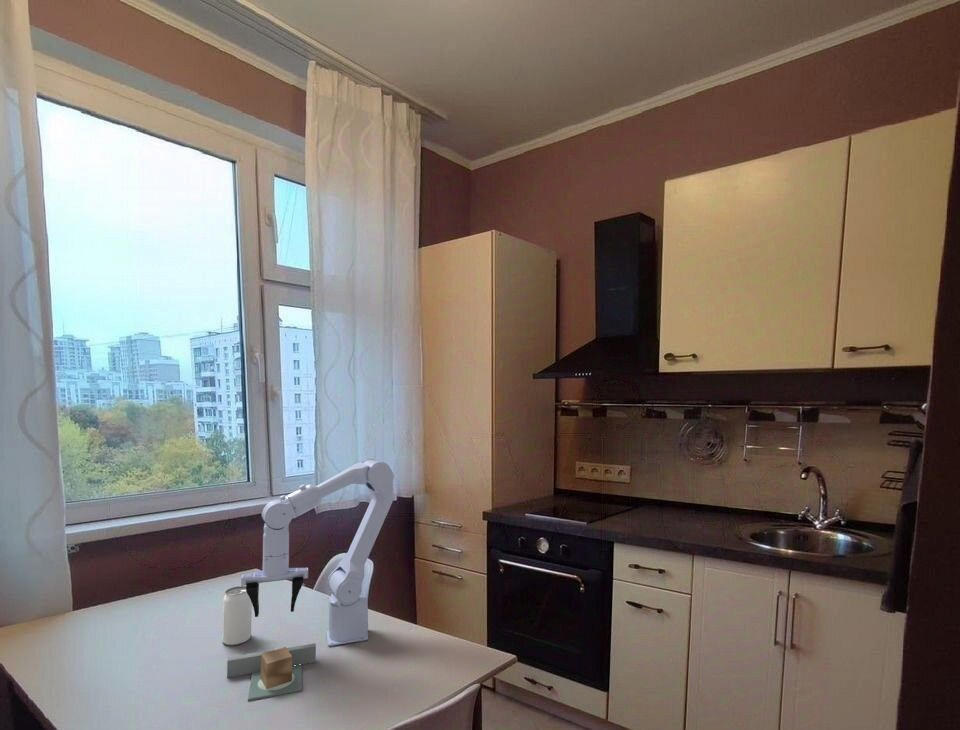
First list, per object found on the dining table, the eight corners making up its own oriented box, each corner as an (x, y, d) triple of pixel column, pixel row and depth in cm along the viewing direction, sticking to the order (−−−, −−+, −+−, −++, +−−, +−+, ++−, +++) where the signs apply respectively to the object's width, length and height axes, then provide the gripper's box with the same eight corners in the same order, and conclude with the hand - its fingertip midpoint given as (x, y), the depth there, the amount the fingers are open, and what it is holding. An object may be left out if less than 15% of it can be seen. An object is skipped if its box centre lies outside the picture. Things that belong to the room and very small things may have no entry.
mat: (301, 666, 112) (301, 664, 112) (301, 690, 103) (301, 688, 103) (252, 675, 109) (252, 672, 109) (247, 701, 99) (247, 698, 99)
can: (239, 647, 121) (240, 595, 122) (216, 644, 122) (217, 594, 123) (256, 634, 127) (257, 586, 128) (234, 632, 129) (235, 584, 129)
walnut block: (285, 670, 109) (285, 647, 110) (291, 681, 105) (292, 656, 106) (260, 678, 106) (261, 653, 107) (266, 689, 102) (267, 663, 103)
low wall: (315, 659, 115) (315, 643, 115) (315, 662, 114) (315, 646, 114) (227, 674, 109) (228, 657, 109) (227, 677, 108) (227, 660, 108)
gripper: (308, 545, 125) (307, 601, 124) (243, 551, 120) (242, 610, 119) (308, 553, 119) (307, 613, 118) (240, 560, 114) (239, 622, 113)
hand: (274, 612), depth 118 cm, fingers open, 7 cm apart
